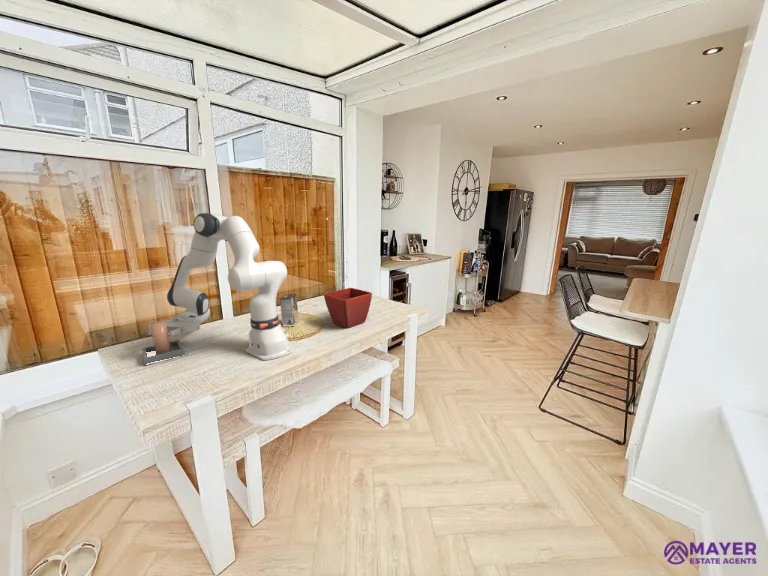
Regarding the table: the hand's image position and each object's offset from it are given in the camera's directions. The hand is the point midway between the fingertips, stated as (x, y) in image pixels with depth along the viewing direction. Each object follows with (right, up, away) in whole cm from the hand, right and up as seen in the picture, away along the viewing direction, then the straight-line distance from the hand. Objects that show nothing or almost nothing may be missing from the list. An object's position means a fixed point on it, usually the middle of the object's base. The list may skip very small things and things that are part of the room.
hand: (160, 333), depth 138 cm
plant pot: (+78, +1, +37) cm, 86 cm away
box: (0, -10, +2) cm, 10 cm away
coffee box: (+46, 0, +36) cm, 59 cm away
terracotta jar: (0, -9, +2) cm, 9 cm away
